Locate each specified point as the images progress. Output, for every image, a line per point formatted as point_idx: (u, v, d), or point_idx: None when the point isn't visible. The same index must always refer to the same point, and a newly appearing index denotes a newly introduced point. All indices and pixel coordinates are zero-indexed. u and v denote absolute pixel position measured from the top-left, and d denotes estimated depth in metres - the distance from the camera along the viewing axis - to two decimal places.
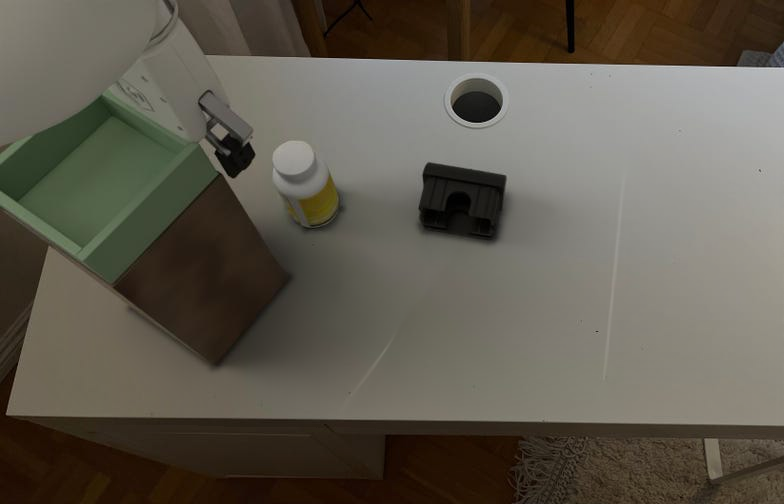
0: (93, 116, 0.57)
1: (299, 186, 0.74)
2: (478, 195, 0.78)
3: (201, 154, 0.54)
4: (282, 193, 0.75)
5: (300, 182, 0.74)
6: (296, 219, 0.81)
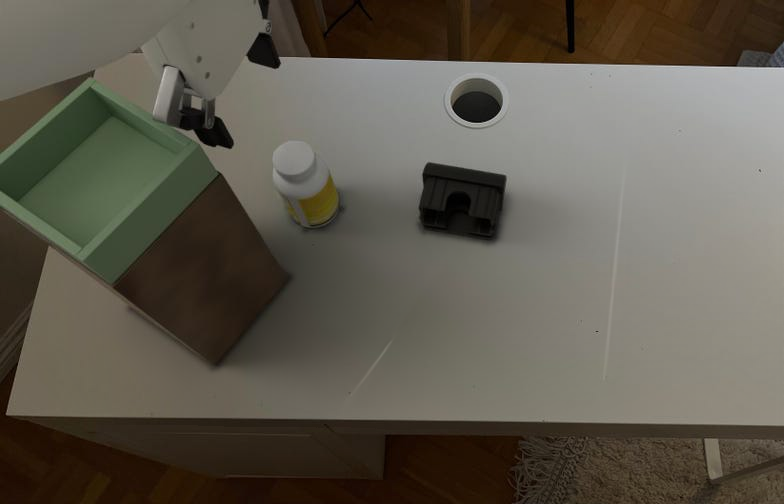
0: (93, 116, 0.57)
1: (299, 186, 0.74)
2: (478, 195, 0.78)
3: (201, 154, 0.54)
4: (282, 193, 0.75)
5: (300, 182, 0.74)
6: (296, 219, 0.81)
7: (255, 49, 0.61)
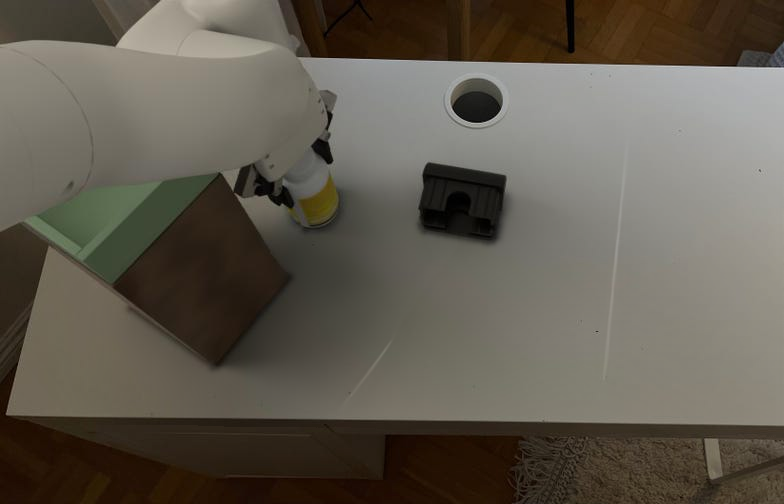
0: None
1: (299, 186, 0.74)
2: (478, 195, 0.78)
3: None
4: None
5: (300, 182, 0.74)
6: (296, 219, 0.81)
7: (315, 148, 0.76)
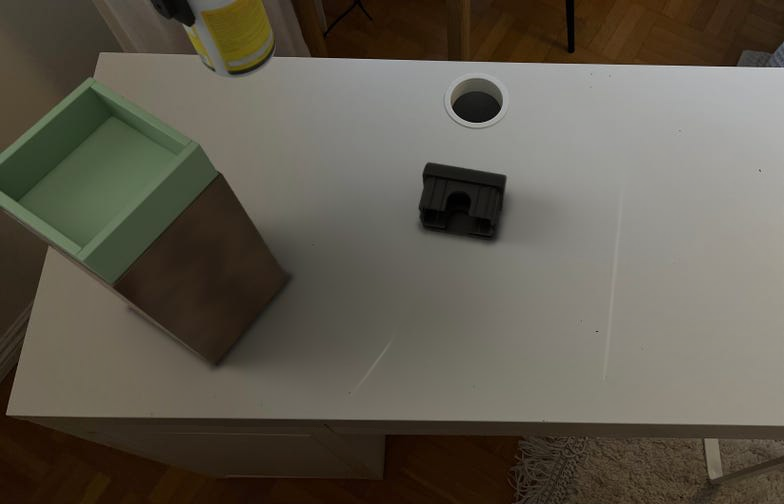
0: (93, 116, 0.57)
1: None
2: (478, 195, 0.78)
3: (201, 154, 0.54)
4: None
5: None
6: (207, 61, 0.54)
7: None
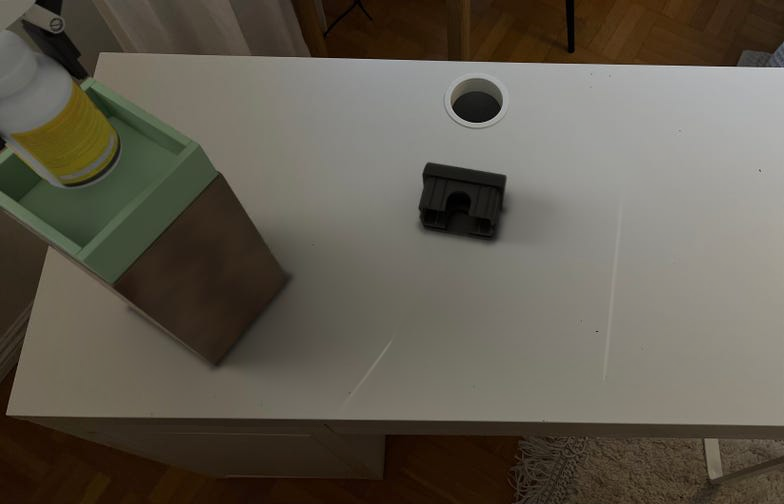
0: None
1: (6, 109, 0.43)
2: (478, 195, 0.78)
3: (201, 154, 0.54)
4: None
5: (6, 101, 0.42)
6: (39, 174, 0.49)
7: (47, 50, 0.45)
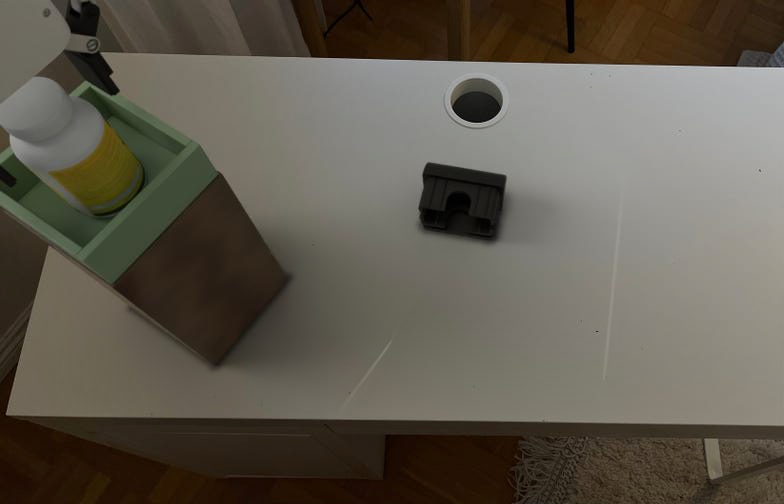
0: None
1: (45, 150, 0.47)
2: (478, 195, 0.78)
3: (201, 154, 0.54)
4: (22, 162, 0.47)
5: (45, 143, 0.46)
6: (71, 205, 0.53)
7: (82, 68, 0.48)
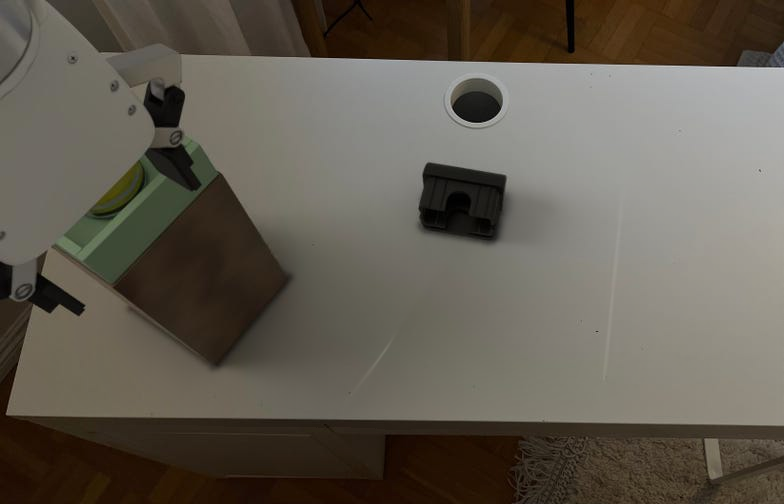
0: None
1: None
2: (478, 195, 0.78)
3: (201, 154, 0.54)
4: None
5: None
6: None
7: (159, 162, 0.39)
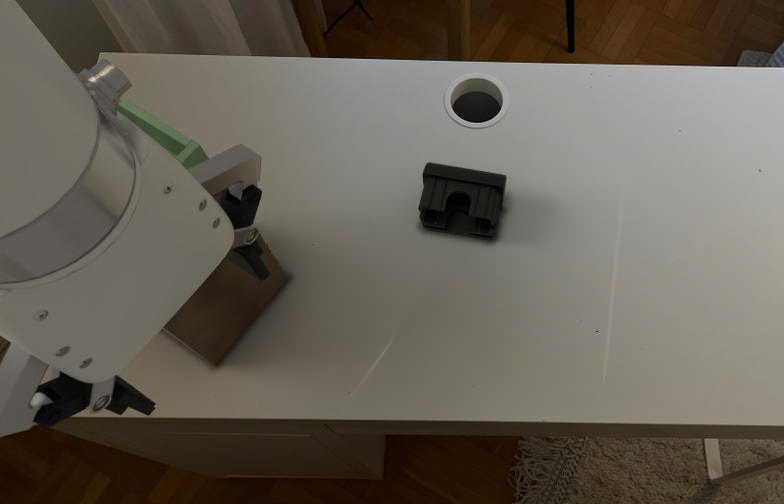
0: None
1: None
2: (478, 195, 0.78)
3: (201, 154, 0.54)
4: None
5: None
6: None
7: (231, 254, 0.38)
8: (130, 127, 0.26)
